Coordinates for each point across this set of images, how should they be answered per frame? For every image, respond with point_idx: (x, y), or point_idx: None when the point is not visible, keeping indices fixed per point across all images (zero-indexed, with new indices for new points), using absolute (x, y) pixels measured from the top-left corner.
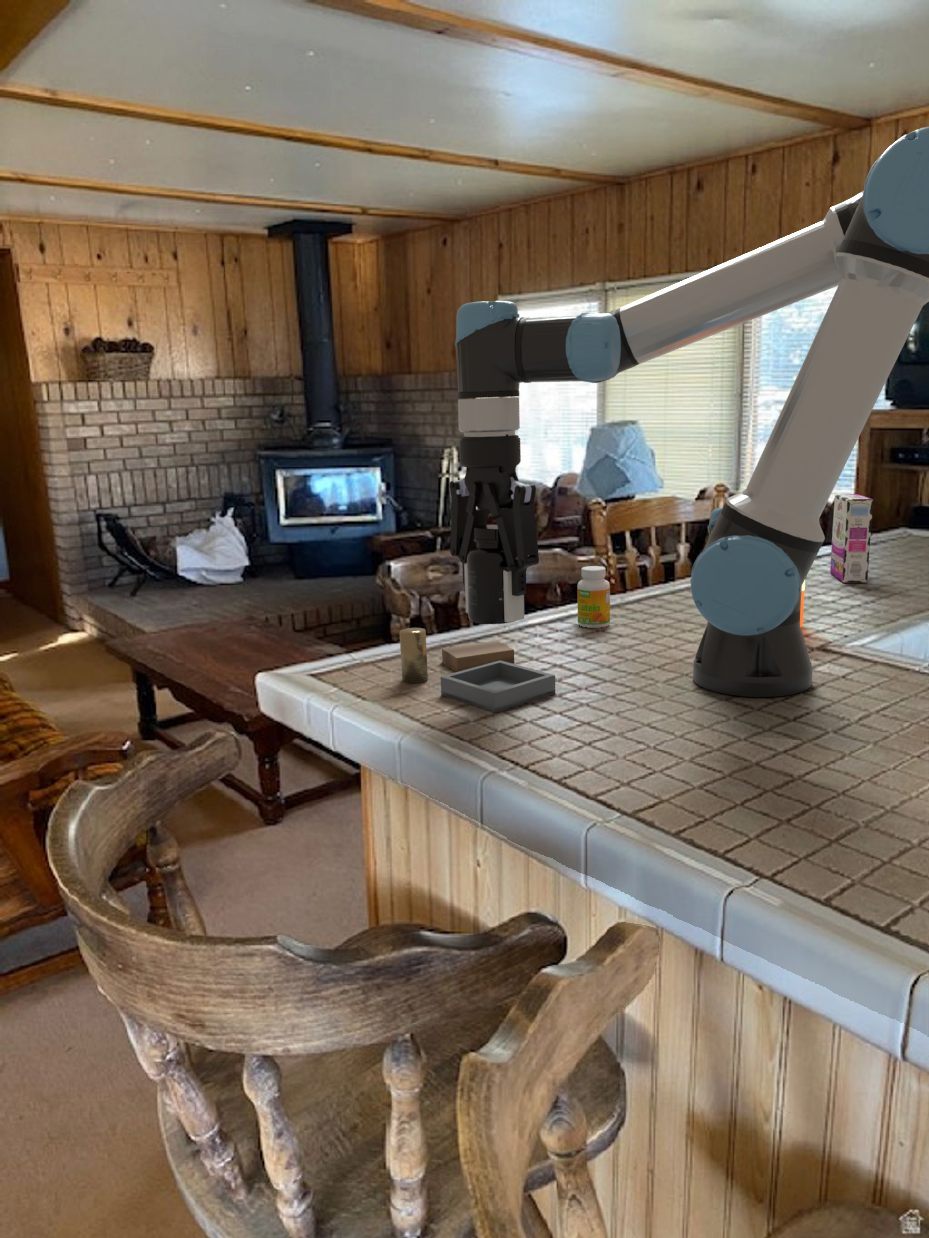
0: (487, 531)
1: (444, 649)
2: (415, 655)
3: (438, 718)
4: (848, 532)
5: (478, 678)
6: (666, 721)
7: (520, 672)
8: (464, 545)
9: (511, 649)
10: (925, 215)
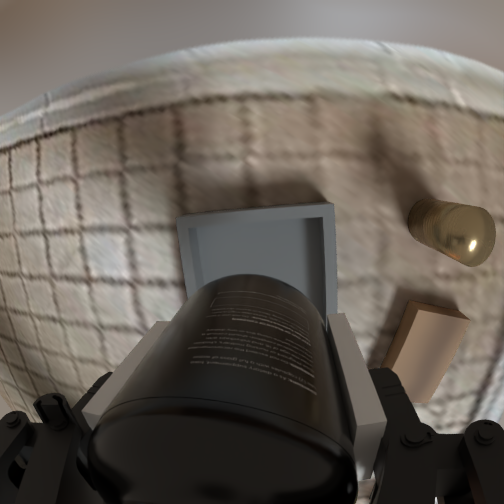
0: None
1: (464, 320)
2: (433, 216)
3: (224, 127)
4: None
5: (323, 283)
6: (62, 342)
7: None
8: (409, 500)
9: None
10: None
